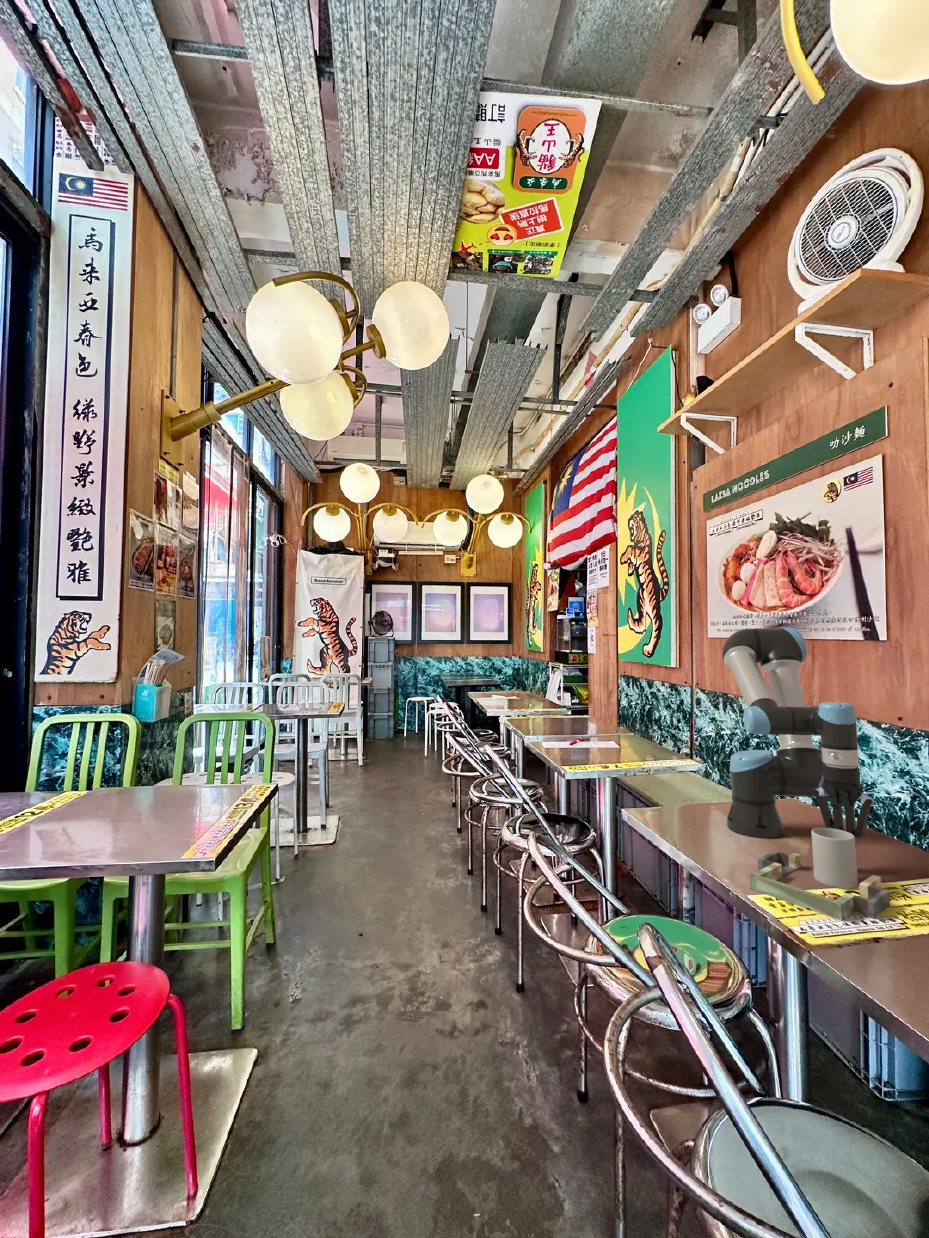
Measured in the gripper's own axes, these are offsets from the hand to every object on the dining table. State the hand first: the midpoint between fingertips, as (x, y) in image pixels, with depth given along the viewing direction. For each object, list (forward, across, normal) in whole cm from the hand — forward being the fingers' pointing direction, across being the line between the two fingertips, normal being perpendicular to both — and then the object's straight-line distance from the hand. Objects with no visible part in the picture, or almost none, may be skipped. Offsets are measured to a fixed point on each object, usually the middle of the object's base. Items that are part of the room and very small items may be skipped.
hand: (847, 862), depth 128 cm
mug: (+2, 0, -8) cm, 8 cm away
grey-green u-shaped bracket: (+2, 0, -18) cm, 18 cm away
